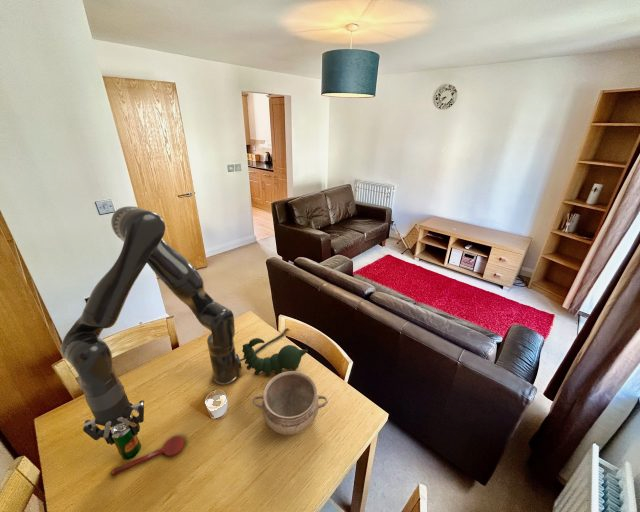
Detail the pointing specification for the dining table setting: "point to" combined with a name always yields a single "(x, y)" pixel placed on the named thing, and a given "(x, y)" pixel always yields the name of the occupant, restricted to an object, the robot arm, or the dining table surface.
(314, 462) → the dining table surface
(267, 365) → the toy figurine
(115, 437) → the soda can
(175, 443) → the spoon
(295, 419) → the cooking pot
